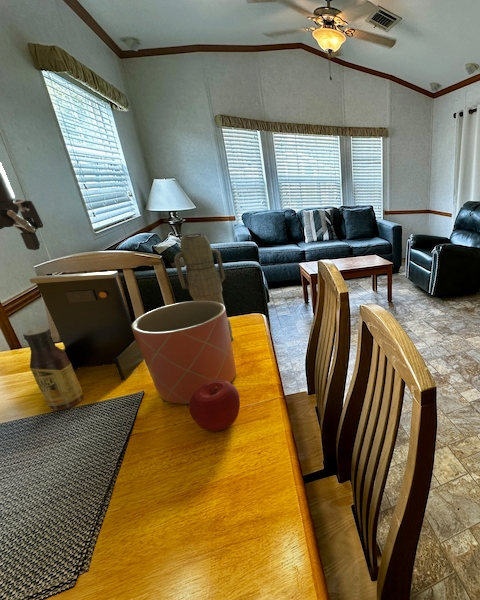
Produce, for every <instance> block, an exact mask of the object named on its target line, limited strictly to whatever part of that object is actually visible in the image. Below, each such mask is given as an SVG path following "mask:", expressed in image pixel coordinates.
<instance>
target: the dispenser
mask: <svg viewBox="0 0 480 600" xmlns="http://www.w3.org/2000/svg"><path fill="white" fill-rule="evenodd" d="M118 276H120V274H119V272H118V270H114V271H100V272H99V271H98V272H97V271H96V272H81V273H69V274H68V273H67V274H53V275H37V276H34V277H31V278H29V279H28V280H29V282H30V284H31V285H32V284H36V286H37V288H38V291H39V294H40V295H41V297H42V300H43V302H44V304H45V306H46V309H47V311H48V313H49V315H50V318H51V320H52V322H53V325H54V327H55V329H56V332H57V333H58V335H59V337H60V340H61V342H62V345H63V347H64V348H61V349H62V350H63V351H64V352H65V353H66V355H67V357H68V359H69V361H70V363H71V365H72V367H73V370H74V372H75V373H76V371H78V370H79V369H87V368H94V367H102V366H110V365H111V366H112V365H114V366H115V369H116V372H117V374H118V376H119V379H120V381H121V382H125V381H127V379H128V378H129V377H131V375H132V374H133V373H134V371H135V370H136V369H137V368H138V367H139V366H140V365H141V364H142V363H143V361H145V360H144V358H143V356H142V353H141V350H140V348H139V345H138V343H137V340H136V338H135V335H134V333H133V330H132V324H133V322H132V320H131V316H130V314H129V311H128V309H127V306H126V302H125V300H124V297H123V293H122V291H121V287H120V285H119V282H118V279H117V277H118Z"/></svg>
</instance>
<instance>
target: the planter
mask: <svg viewBox="0 0 480 600" xmlns="http://www.w3.org/2000/svg"><path fill="white" fill-rule="evenodd" d="M224 306H225V304H224V305H223V304H221V303H218V302H214V301H194V300H191V301H190V300H189V301H182V302H177V303H173V304H169V305H164V306H161V307H158V308H156V309H153V310H151V311H148V312H146V313H143V314H142V315H140V316H139V317H136V319H135V320H134V321H133V322H132V330H133V333H134V335H135V338H136V340H137V343H138V345H139V348H140V350H141V353H142V356H143V358H144V360H143V361H144V363H145V365H146V368H147V370H148V372H149V375H150V378H151V380H152V383H153V385H154V387H155V390H156V392H157V394H158V396H159V397H160V399H162V400H163V401H166V402H169V403H173V404H184V405H185V404H186V405H187V404H188V405H189V402H190V399H191V397H192V395H193V394H194V393H195V392H196V391H197V390H198V389H199V388H200V387H201V386H203V385H204V384H206V383H208V382H211V381H215V380H223V381H227V382H229V383H232V382H233V380H234V379H235V377H237V366H236V361H235V355H234V354H235V353H234V350H233V342H231V337H230V331H229V326H228V321H227V318H228V316H226V315H227V311H226V306H225V307H224Z"/></svg>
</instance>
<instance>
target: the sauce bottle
mask: <svg viewBox="0 0 480 600" xmlns="http://www.w3.org/2000/svg"><path fill="white" fill-rule="evenodd" d="M22 336H23V338H24V340H25V341H26V343H27V344H28V347H29V350H30V361H29V369H30V370H31V373H32V375H33V379H34V380H35V382H36V385H37V386H38V388H39V391H40V393H41V395H42V397H43V399H44V401H45V403H46V405H47V406H48V407H49V409H50V410H52V411H63V410H67V409H69V408H71V407H74V406H75V405H77V404H79V403H81V401H83V399H84V394H83V390H82V387H81V385H80V382H79V380H78V378H77V375H76V371H75V372H74V370H73V367H72V365H71V363H70V361H69V359H68V357H67V355H66V353H65V352H64V351H63V350H62V349H63V348H60V347H58V346H57V345H56V342H54V338H53V337H52V331H51V329H50V328H49V327H48V326H39V327H34V328H30V329H28V330H26V331H24V332H23V333H22Z"/></svg>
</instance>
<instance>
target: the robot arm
mask: <svg viewBox="0 0 480 600" xmlns="http://www.w3.org/2000/svg"><path fill="white" fill-rule="evenodd" d="M15 199H16V196H15V193H14V191H13V189H12V187H11V184H10V181H9V179H8V176H7V175H6V172H5V170H4V168H3V166H2V162H0V230H2V229H4V228H12V227H13V228H14V229H16V230H18V231H19V232H20V233H19V234H20V236H21V238H22V241H23V243H24V245H25V247H26V249H27V250H30V251H37V250H39V249H40V246H41V243H40V241H39V238H38V236H37V234H36V233H37V230H38V229H41V228H43V227H44V223H43V221H42V219H41V217H40V215H39V212H38V211H37V208H36V206H35V204H34V202H33V201H32V200H25V199H16V200H15ZM14 200H15V201H14ZM19 212H20V215H21V216H20V215H19Z"/></svg>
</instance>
